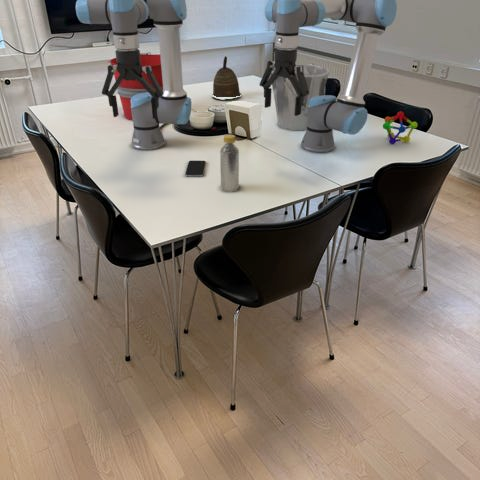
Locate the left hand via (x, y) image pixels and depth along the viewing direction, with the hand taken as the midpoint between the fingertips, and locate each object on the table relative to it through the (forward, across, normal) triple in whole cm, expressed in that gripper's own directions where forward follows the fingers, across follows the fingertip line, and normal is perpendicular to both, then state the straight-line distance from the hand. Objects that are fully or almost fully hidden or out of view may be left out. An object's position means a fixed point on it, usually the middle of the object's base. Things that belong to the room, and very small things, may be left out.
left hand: (135, 116), depth 150 cm
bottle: (+28, +31, +7) cm, 42 cm away
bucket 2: (+28, +55, +88) cm, 107 cm away
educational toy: (+28, +102, +67) cm, 125 cm away
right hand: (+1, +49, +18) cm, 52 cm away
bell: (+28, +10, +140) cm, 143 cm away
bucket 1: (+28, -28, +96) cm, 104 cm away
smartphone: (+28, +15, +23) cm, 39 cm away
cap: (+8, +31, +7) cm, 33 cm away
